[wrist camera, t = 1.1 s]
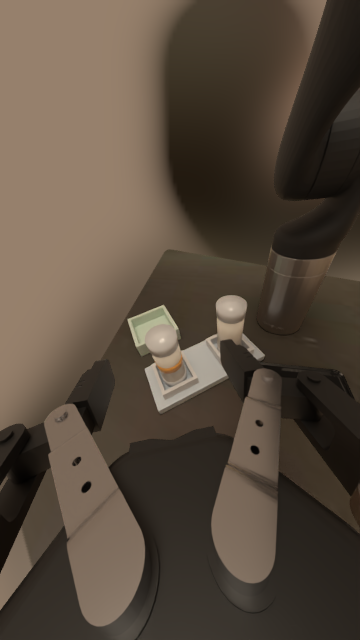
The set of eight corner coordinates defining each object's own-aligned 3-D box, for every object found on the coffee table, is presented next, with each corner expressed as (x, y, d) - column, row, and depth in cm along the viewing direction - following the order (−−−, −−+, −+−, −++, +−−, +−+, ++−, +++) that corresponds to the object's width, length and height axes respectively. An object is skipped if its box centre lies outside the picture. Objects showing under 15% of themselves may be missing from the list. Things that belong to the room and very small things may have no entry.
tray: (166, 314, 48) (163, 304, 46) (181, 338, 41) (178, 328, 39) (132, 328, 46) (127, 319, 44) (141, 356, 39) (136, 347, 37)
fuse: (224, 337, 38) (225, 292, 29) (244, 347, 35) (252, 300, 27) (212, 351, 35) (210, 307, 27) (233, 363, 33) (237, 318, 25)
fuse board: (235, 330, 40) (236, 320, 38) (263, 359, 34) (266, 349, 32) (146, 372, 36) (141, 363, 34) (160, 414, 30) (155, 407, 27)
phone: (363, 420, 24) (250, 401, 28) (359, 422, 25) (249, 404, 29) (341, 369, 30) (248, 360, 34) (338, 372, 30) (247, 363, 34)
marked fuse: (174, 361, 35) (160, 320, 27) (192, 373, 33) (182, 332, 24) (158, 378, 33) (138, 339, 25) (176, 392, 31) (160, 355, 22)
